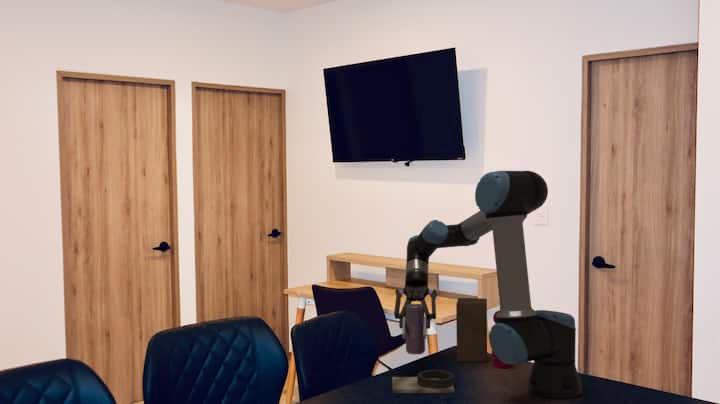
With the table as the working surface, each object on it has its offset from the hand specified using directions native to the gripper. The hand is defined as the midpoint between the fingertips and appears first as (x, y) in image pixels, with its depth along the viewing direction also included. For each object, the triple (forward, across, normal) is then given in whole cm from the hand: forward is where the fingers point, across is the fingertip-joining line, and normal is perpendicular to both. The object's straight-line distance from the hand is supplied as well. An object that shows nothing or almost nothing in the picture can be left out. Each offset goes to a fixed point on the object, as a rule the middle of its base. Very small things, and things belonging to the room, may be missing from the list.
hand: (414, 336), depth 209 cm
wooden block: (-9, -18, -28) cm, 34 cm away
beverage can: (+2, 0, -7) cm, 7 cm away
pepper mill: (-3, -28, -22) cm, 36 cm away
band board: (+14, -3, -5) cm, 15 cm away
